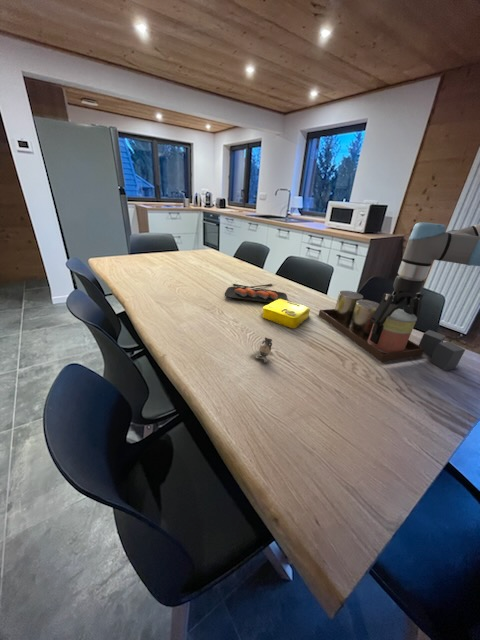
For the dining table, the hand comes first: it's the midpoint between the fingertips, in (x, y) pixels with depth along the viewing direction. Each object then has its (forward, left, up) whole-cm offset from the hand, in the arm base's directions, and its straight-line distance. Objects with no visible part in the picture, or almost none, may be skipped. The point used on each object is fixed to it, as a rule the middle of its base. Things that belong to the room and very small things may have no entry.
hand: (387, 340), depth 89 cm
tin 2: (+11, 0, -3) cm, 12 cm away
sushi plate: (+58, +24, -4) cm, 63 cm away
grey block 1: (-5, -14, -4) cm, 15 cm away
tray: (+10, 0, -4) cm, 11 cm away
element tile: (+29, +23, -4) cm, 37 cm away
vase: (+4, +43, -4) cm, 43 cm away
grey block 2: (-12, -12, -4) cm, 17 cm away
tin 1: (+21, 0, -3) cm, 22 cm away
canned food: (0, 0, -2) cm, 2 cm away
